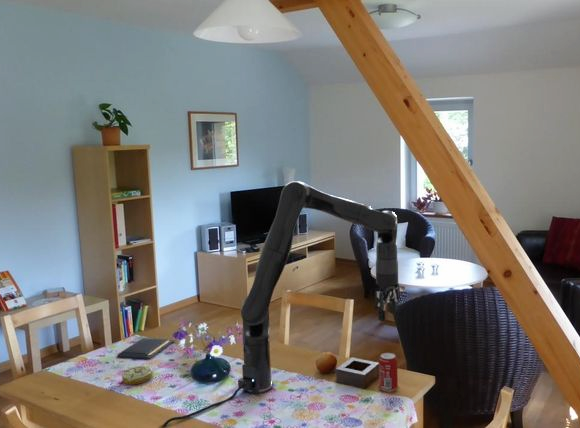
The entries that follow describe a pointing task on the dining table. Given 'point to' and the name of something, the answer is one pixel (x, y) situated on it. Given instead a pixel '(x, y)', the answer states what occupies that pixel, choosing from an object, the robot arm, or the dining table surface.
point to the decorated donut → (137, 374)
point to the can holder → (357, 372)
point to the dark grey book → (145, 348)
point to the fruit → (326, 362)
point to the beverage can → (388, 372)
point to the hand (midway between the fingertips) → (387, 316)
